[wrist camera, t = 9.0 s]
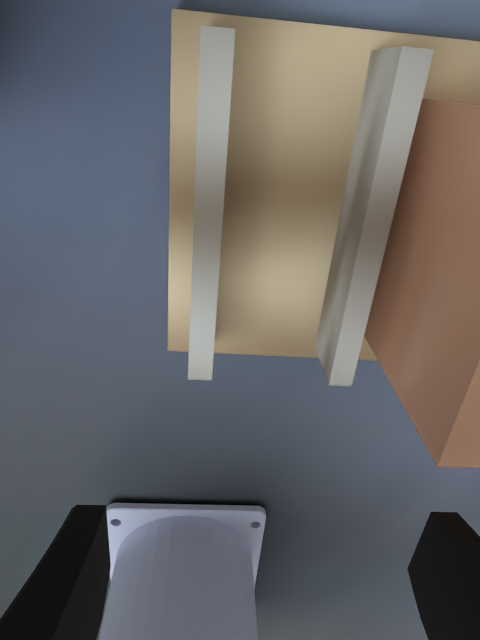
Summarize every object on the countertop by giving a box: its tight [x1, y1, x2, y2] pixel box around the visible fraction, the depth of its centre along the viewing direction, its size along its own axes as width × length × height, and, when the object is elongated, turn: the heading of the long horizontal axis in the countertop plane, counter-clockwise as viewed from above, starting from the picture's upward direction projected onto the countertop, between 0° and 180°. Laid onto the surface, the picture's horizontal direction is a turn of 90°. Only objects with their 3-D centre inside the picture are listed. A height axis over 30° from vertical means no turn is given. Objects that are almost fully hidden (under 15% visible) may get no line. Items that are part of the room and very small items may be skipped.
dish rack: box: [168, 9, 480, 386], centre depth 15 cm, size 11×17×4 cm, turn 85°
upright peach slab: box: [364, 99, 480, 468], centre depth 13 cm, size 8×2×7 cm, turn 175°
